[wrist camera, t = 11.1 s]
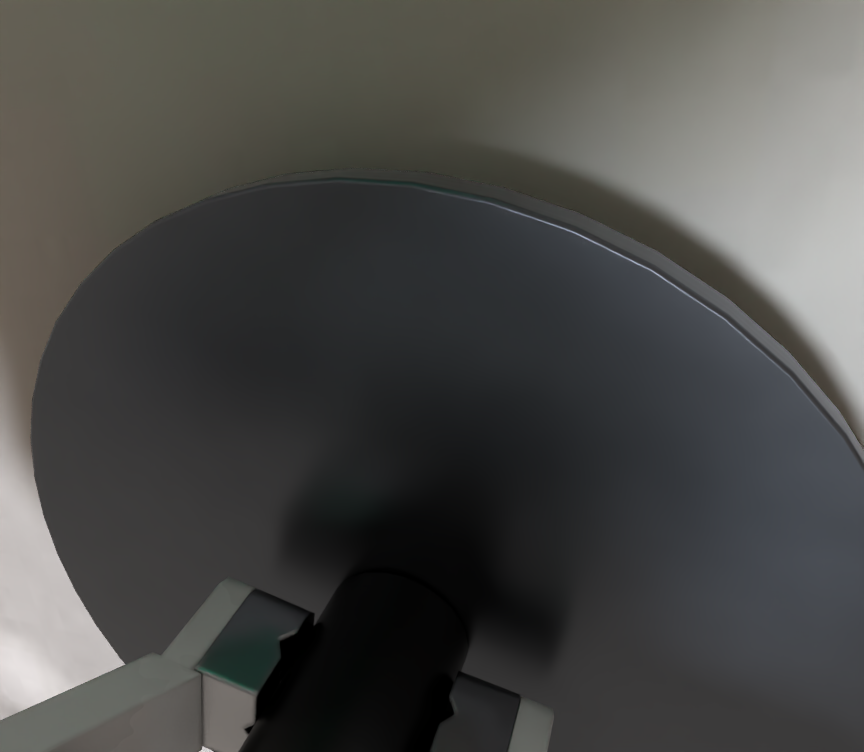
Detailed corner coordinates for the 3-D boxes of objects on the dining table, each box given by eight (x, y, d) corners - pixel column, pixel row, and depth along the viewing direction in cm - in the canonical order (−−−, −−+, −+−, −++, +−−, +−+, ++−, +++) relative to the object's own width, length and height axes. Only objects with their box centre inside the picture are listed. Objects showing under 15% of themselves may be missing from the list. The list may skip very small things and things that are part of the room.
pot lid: (108, 668, 18) (-57, 860, 14) (31, 46, 10) (-385, 87, 6) (685, 929, 15) (680, 1256, 11) (1180, 349, 7) (1701, 752, 4)
